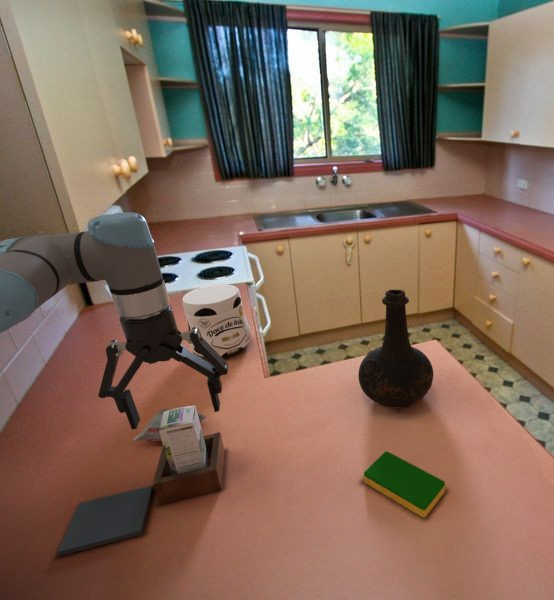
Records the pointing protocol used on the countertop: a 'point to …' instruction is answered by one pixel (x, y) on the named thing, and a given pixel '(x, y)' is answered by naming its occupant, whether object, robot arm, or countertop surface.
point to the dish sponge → (405, 483)
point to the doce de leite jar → (218, 318)
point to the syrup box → (183, 440)
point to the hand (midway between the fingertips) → (177, 415)
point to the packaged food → (156, 428)
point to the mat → (107, 520)
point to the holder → (191, 475)
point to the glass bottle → (395, 361)
